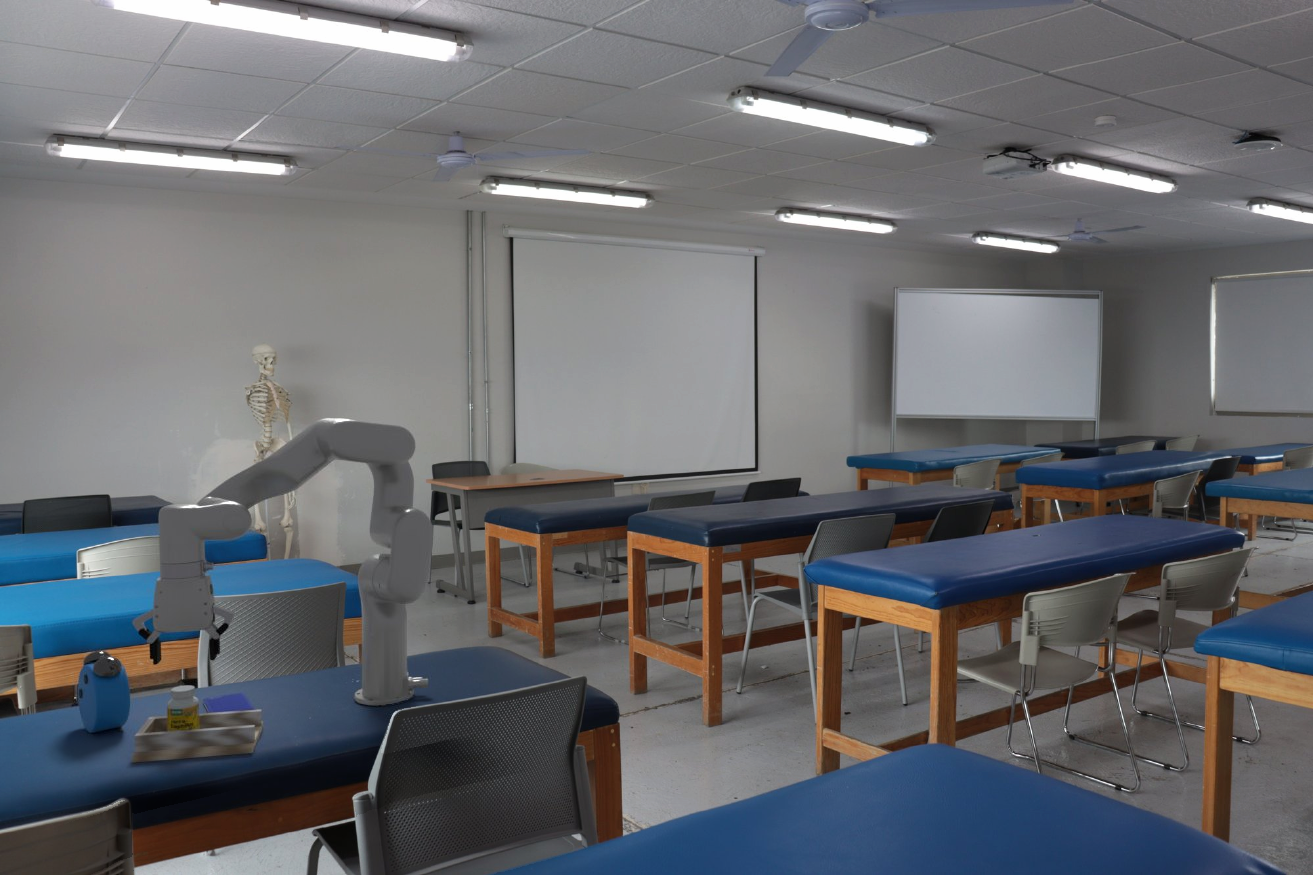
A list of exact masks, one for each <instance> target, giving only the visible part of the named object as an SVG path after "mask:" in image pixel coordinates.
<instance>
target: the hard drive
mask: <svg viewBox="0 0 1313 875" xmlns="http://www.w3.org/2000/svg"><path fill="white" fill-rule="evenodd" d="M202 704H203V705H204V707H205V709H206V711H207V713H216V712H230V711H245V710H256V709H255V707H254V706H253V705H252V703H251V702H250V700H249V699H248V697H247V696H246V693H244V692H236V693H230V694H224V695H218V696H210V697H206V698H203V700H202Z"/></svg>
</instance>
